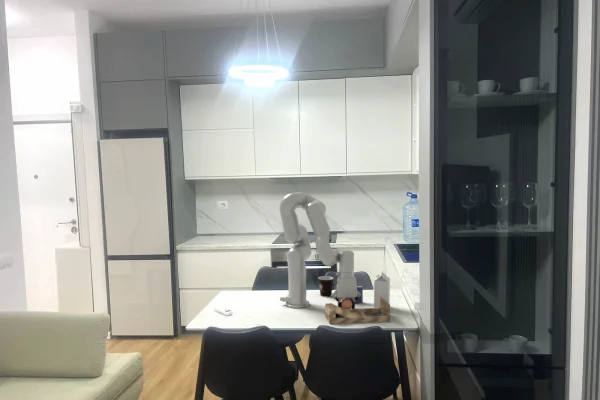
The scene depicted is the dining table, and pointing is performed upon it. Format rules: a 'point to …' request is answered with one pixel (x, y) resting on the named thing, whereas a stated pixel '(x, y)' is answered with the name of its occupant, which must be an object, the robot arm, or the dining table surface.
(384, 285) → the milk carton
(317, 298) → the dining table surface
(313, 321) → the dining table surface
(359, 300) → the flask
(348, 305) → the ball
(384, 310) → the wooden tray
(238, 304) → the dining table surface
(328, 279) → the coffee mug
